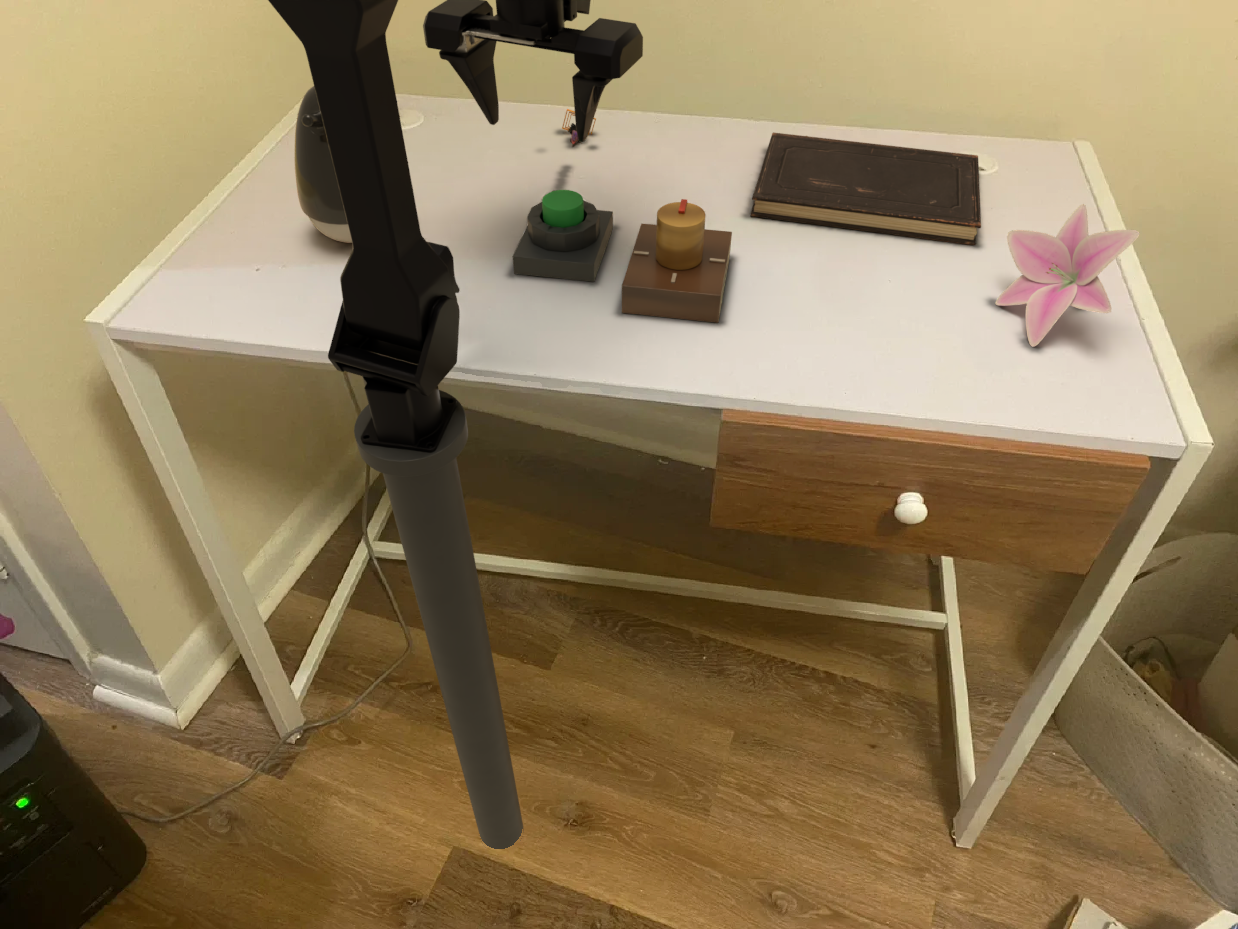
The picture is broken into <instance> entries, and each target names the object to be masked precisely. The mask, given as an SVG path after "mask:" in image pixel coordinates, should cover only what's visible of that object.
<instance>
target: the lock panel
mask: <svg viewBox="0 0 1238 929" xmlns="http://www.w3.org/2000/svg"><path fill="white" fill-rule="evenodd" d="M656 230H657V224H652V223H642V222H641V223H640V226H639V230H638V233H637V236H636V238H635V241H634V245H633V248H632V252H631V255H630V258H629V261H628V263H627V264H628V265H627V268H626V271H625V274H624V277H623V281H622V284H621V314H632V315H639V316H651V317H660V318H667V319H668V318H669V319H677V320H688V321H698V322H706V323H717V324H718V323H720V322H719V321H720V315H721V312H722V311H721V310H722V305H723V304H722V303H723V298H724V292H725V286H726V282H727V276H728V269H729V264H730V257H731V247H732V236H733V231H729V230H728V231H727V230H719V229H718V230H717V229H707V228H705V230H704V244H703V257H702V261H701V263H700V264H699V265H697V266H696V267H693V268H691V269H686V270H674V269H669V268H666V267H664V266H662V265H661V264H660V263H658V261H657V260H656Z"/></svg>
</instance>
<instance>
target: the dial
mask: <svg viewBox="0 0 1238 929" xmlns="http://www.w3.org/2000/svg"><path fill="white" fill-rule="evenodd" d="M656 225H657V230H656V260H657V261H658V263H660V264H661V265H662V266H664V267H666V268H669V269H674V270H686V269H691V268H693V267H696V266H697V265H699V264H700V263H701V261H702V257H703V244H704V230H705V229H706V211H705V210H704V209H703V208H702V207H701V206H699V205H697V204H696V203H691V202H688V199H685V198H681V199H680V201H674V202H669V203H666V204H663V205H662V206H660V207H659V209H658V210H657V212H656Z"/></svg>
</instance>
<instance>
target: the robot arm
mask: <svg viewBox="0 0 1238 929" xmlns="http://www.w3.org/2000/svg"><path fill="white" fill-rule="evenodd" d="M267 1H268V2H269V3H270V5H271V6H272V7H273V8H274V10H275V11H276V12H277V13H278V15H279V16H280V17H281V18H282V20H283V21H284V22H285V23H286V25H287V26H288V27H289V29H290V30H291V31H292V32H293V33H294V35H295V36H296V37H297V38H298V40H299V41H300V42H301V44H302V46H303V48H304V51H305V56H306V59H307V62H308V66H309V70H310V76H311V79H312V84H313V86H314V88H315V92H316V96H317V100H318V104H319V108H320V112H321V116H322V120H323V124H324V129H325V133H326V137H327V141H328V145H329V149H330V153H331V157H332V161H333V165H334V169H335V174H336V178H337V182H338V186H339V190H340V194H341V198H342V202H343V206H344V210H345V215H346V219H347V223H348V227H349V231H350V235H351V239H352V243H351V244H352V245H351V246H352V250H351V252H350V254H349V257H348V259H347V262H346V263H345V265H344V268H343V270H342V272H341V275H340V277H339V282H340V289H341V290H340V291H341V297H342V302H341V305H340V309H339V313H338V317H337V320H336V324H335V328H334V330H333V335H332V338H331V342H330V346H329V350H328V353H327V358H328V360H329V361H330V363H331V364H332V366H333V367H334V369H335V370H336V371H338V372H342V373H344V372H346V373H350V374H353V375H356V376H360V377H362V380H363V385H364V388H363V389H364V393H365V396H366V400H367V405H368V404H369V408H370V412H371V415H372V417H371V419H370V421H369V422H368V424H367V426H366V428H365V430H364V431H363V433H362V435H361V442H362V443H363V444H365V445H373V446H380V447H388V448H396V449H404V450H411V451H419V452H427V453H432V452H434V451H436V449H437V447H438V445H439V443H440V441H441V439H442V437H443V434H444V432H445V430H446V428H447V426H448V423H449V421H450V419H451V417H452V415H453V413H454V410H455V408H456V406H457V401H456V399H457V398H456V397H454V398H450V397H442V396H440V394H439V390H440V389H439V385H440V383H441V382H442V381H443V380H444V378H445V377H446V376H448V374H449V373H450V372H451V371H452V369H453V368H454V367H455V366H456V365H457V362H458V352H459V334H460V333H459V332H460V315H461V314H460V312H461V310H460V306H459V303H458V298H457V294H458V293H460V287H459V285H458V283H457V280H456V277H455V276H456V275H455V266H454V264H455V263H454V256H453V254H452V252H451V250H450V247H449V246H448V245H443V244H439V243H435V242H431V241H427V240H426V238H424V236H423V233H422V232H421V227H420V221H419V216H418V210H417V205H416V199H415V198H416V197H415V192H414V187H413V183H412V178H411V172H410V166H409V159H408V155H407V149H406V144H405V138H404V132H403V127H402V122H401V116H400V111H399V106H398V100H397V94H396V88H395V82H394V77H393V72H392V67H391V61H390V55H389V50H388V45H387V35H386V34H387V30H388V28H389V25H390V23H391V20H392V18H393V15H394V13H395V10H396V7H397V5H398V3H399V0H267ZM495 9H496V14H495V15H494V8H493V6H492V5H491V4H490V3H489V2H488V0H444V1H443V2H441V3H439V4H438V5H437V6H435V7H433V8H432V9H430V10H429V11H428V12H427V13H426V15H425V16H424V21H423V24H422V29H423V34H424V43H425V46H426V48H427V49H433V50H439V51H438V55H439V58H440V59H441V60H443V61H447V62H448V63H449V65H450V66H451V67H452V69H453V71H455V73H456V74H457V76H458V77H459V78H460V79H461V81H462V82H463V84H464V85H465V86H466V88H467V90H468V91H469V92H470V94H471V96H472V97H473V99H474V101H475V103H476V104H477V105H478V107H479V109H480V110H481V112H482V114H483V115H484V117H485V118H486V120H487V122H488V123H489V125H491V126H495V125H496V124H498V122H499V120H500V115H499V114H500V112H499V110H500V106H499V95H498V86H497V79H496V78H497V77H496V70H495V62H494V57H495V53H496V46H497V42H499V43H505V44H511V45H518V46H523V47H529V48H535V49H540V50H541V49H542V50H546V51H547V50H548V51H554V52H558V53H559V52H560V53H565V54H571V55H573V60H574V61H573V62H574V65H575V67H577V69H578V71H577V72H576V73H575V74H574V75H573V76H572V77H571V82H572V93H573V106H574V111H575V116H574V118H575V120H574V121H575V125H576V131H577V135H578V142H580V143H584V142H585V141H586V140H587V139H588V136H589V135H590V132H591V129H592V126H593V125H592V124H593V122H592V121H594V119H593V118H595V115H596V112H597V109H598V107H599V106H598V105H599V103H600V100H601V97H602V94H603V92H604V90H605V88H606V86H607V85H608V84H610V82H612V81H613V80H616V79H620V78H622V77H623V76H624V75H625V74H626V73H628V71H630V69H631V68H632V67H633V66H634V65H635V64H636V63H637V62H638V61H640V59H641V58H642V57H643V56H644V54H643V53H644V36H643V34H642V32H641V31H640V29H639V26H638V24H637V23H636V22H629V21H622V20H615V19H610V18H603V17H599V18H598V19H596V20H595V21H594V22H592V23H591V24H590V25H589V26H588V27H586V28H585V29H577V28H571V27H565V22H573V21H574V20H575V19H577V18H578V14H583V15H587V16H588V15H590V10H591V0H495ZM590 128H591V129H590ZM589 131H590V132H589ZM588 134H589V135H588ZM455 398H456V399H455ZM367 438H368V439H367ZM430 446H432V447H430Z"/></svg>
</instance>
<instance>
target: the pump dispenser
mask: <svg viewBox="0 0 1238 929" xmlns="http://www.w3.org/2000/svg"><path fill="white" fill-rule="evenodd" d="M294 130H295V132H294V157H293V158H294V176H295V177H294V178H295V183H296V185H295V186H296V191H297V193H296V194H297V199H298V202H299V206H300V209H301V211H302V213H304V215H305V216H307V217H308V219H309V221H310V222H311V224H312V225H313V226H314V227H315V228H316V229H317V230H318V231H319V232H320V233H321V234H323V235H324V236H326V237H327V238H329V239H331V240H333V241H336V242H340V243H347V244H352V239H351V235H350V231H349V227H348V223H347V219H346V215H345V210H344V206H343V202H342V198H341V194H340V190H339V186H338V182H337V178H336V174H335V169H334V165H333V161H332V157H331V153H330V149H329V145H328V141H327V137H326V133H325V129H324V124H323V120H322V116H321V112H320V108H319V104H318V100H317V96H316V92H315V88H314V85H312V86H311V87H310V88H309V89H308V90H307V91H306V92H305V93H304V95H303V97H302V99H301V102H300V105H299V108H298V112H297V116H296V122H295V129H294Z"/></svg>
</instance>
